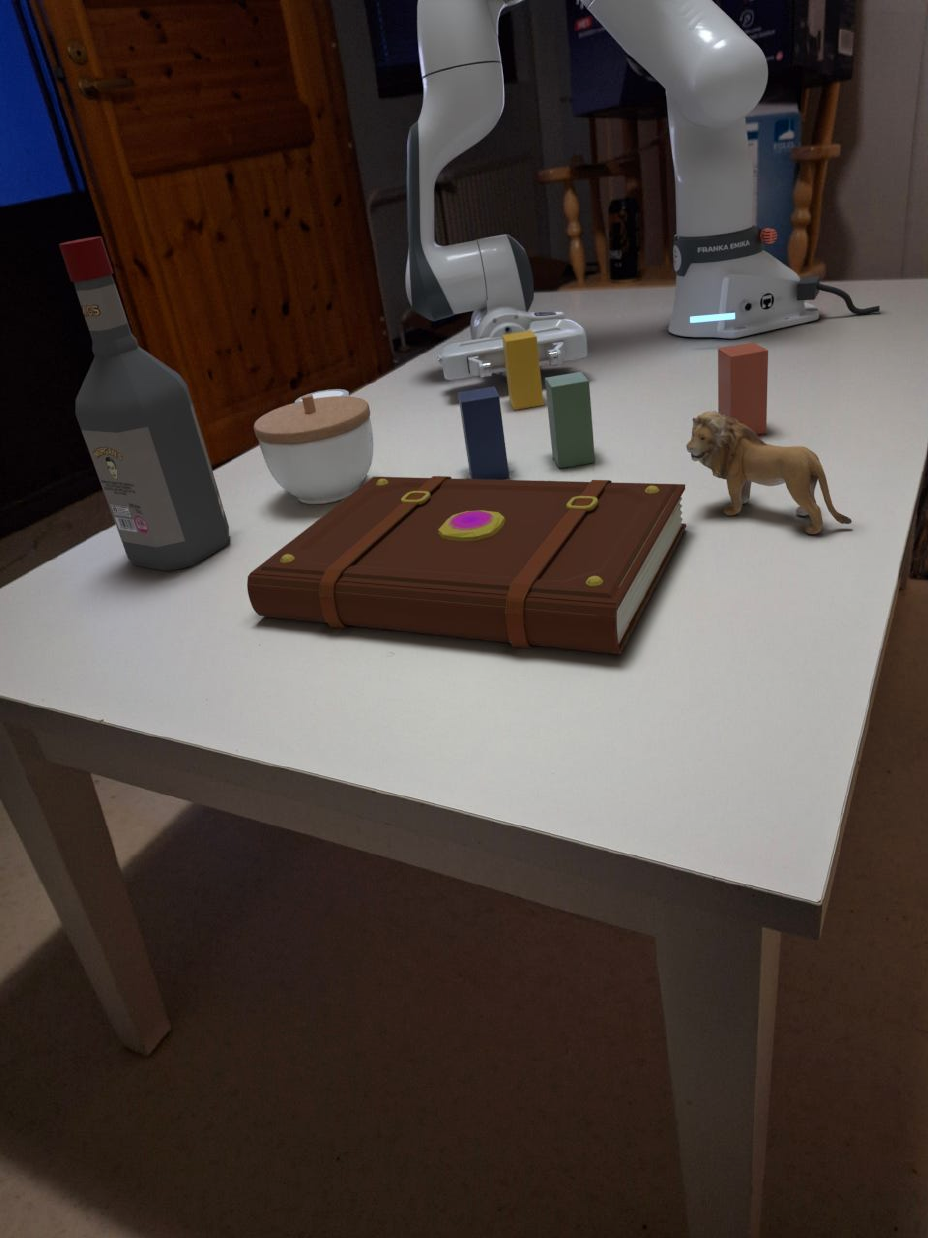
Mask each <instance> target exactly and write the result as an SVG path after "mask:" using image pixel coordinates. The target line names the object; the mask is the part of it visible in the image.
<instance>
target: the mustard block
mask: <svg viewBox="0 0 928 1238" xmlns="http://www.w3.org/2000/svg"><path fill="white" fill-rule="evenodd" d="M502 341H503V349H504V358H505V366H506V374H507V376H506V381H507V383H506V384H507V390H508V398H509V403H510V405H511V407H512V409H513V410H514V411H517V410H524V409H529V408H530V409H531V408H536V407H541V406H545V405H544V393H543V384H542V374H541V365H540V364H539V354H538V344H537V336H536V335H535V334H534V333H533V331H532V330H530V331H524V332H518V333H512V334H506V335H502Z"/></svg>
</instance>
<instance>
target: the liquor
mask: <svg viewBox="0 0 928 1238" xmlns="http://www.w3.org/2000/svg"><path fill="white" fill-rule="evenodd" d="M58 246H59V249H60V252H61V256H62V258H63V261H64V265H65V268H66V270H67V274H68V278H69V280H70V282H72V283H73V285H74V289H75V291H76V294H77V297H78V301H79V304H80V307H81V310H82V313H83V317H84V319H85V322H86V325H87V329H88V332H89V335H90V338H91V341H92V343H91V344H92V346H91V350H92V351H91V352H92V353H93V357H94V358H93V360H92V362H91V364H90V367H89V369H88V371H87V374H86V376H85V378H84V380H83V382H82V384H81V387H80V389H79V391H78V394H77V396H76V398H75V409H74V410H75V416H76V419H77V422H78V425H79V427H80V431H81V433H82V435H83V438H84V440H85V444H86V447H87V450H88V453H89V455H90V458H91V460H92V463H93V466H94V468H95V472H96V474H97V478H98V481H99V482H100V485H101V488H102V491H103V494H104V496H105V499H106V502H107V505H108V507H109V510H110V513H111V516H112V519H113V521H114V524H115V526H116V530H117V532H118V535H119V538H120V540H121V543H122V547H123V549H124V551H125V554H126V558H127V559H128V561H130V562H131V563H132V564H133V565H135V566H137V567H142V568H148V569H152V570H158V571H163V572H171V571H176V570H179V569H184V568H188V567H189V568H190V567H194V566H195V565H196V564H198V563H200V562H201V561H203V560H205V559H207V558H208V557H210V556H211V555H213V554H215V553H216V552H218V551H220V550H221V549H224V548H225V547H227V545H228V542H229V538H230V525H229V521H228V519H227V518H228V517H227V515H226V511H225V508H224V505H223V501H222V498H221V495H220V492H219V487H218V485H217V482H216V479H215V478H216V477H215V475H214V472H213V471H214V470H213V468H212V464H211V462H210V461H211V460H210V458H209V454H208V450H207V448H206V443H205V441H204V437H203V434H202V431H201V427H200V424H199V421H198V417H197V413H196V410H195V407H194V403H193V399H192V397H191V393H190V390H189V387H188V384H187V383H186V382H185V379H183V378H182V376H181V375H180V373H179V372H176V370H174V369H172V368H171V367H170V366H169V365H166V364H165V363H164V362H162V361H161V360H159V359H158V358H157V357H155V356H153V354H150V353H149V352H148V351H146V350H144V349H143V348H141V347H140V346H139V344H138V343H139V342H138V339H137V338H136V337H135V335H134V334H133V333H132V330H131V328H130V325H129V322H128V319H127V316H126V313H125V309H124V307H123V304H122V301H121V298H120V294H119V292H118V287H117V285H116V283H115V279H114V277H113V274H114V270H113V267H112V263H111V261H110V258H109V255H108V251H107V249H106V246H105V242H104V239H103V236H93V237H86V238H85V237H84V238H79V239H75V240H70V241H65V242H61V243H59V244H58Z"/></svg>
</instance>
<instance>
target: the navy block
mask: <svg viewBox="0 0 928 1238" xmlns="http://www.w3.org/2000/svg"><path fill="white" fill-rule="evenodd" d="M457 396H458V397H457V398H458V403H459V410H460V416H461V423H462V430H463V431H462V432H463V437H464V444H465V451H466V457H467V458H466V459H467V464H468V470H469V474H470V479H491V480H502V479H505V478H510V472H509V464H508V455H507V448H506V441H505V440H506V439H505V433H504V423H503V416H502V407H501V400H500V394H499V393H498V391H497V388H496V387H495V386H488V387H482V388H475V389H469V390H464V391H458V392H457Z"/></svg>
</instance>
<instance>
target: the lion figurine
mask: <svg viewBox="0 0 928 1238" xmlns="http://www.w3.org/2000/svg"><path fill="white" fill-rule="evenodd" d="M691 420H692V427H691V439H690V440H689V441H688V442H687V443H686V445H685V446H686V447H685V448H686V451H687V452H688V453H690V457H691V460H692V461H693V462H699V463H700V464H701V465H702V466H704V467H706V468H708V469H709V470H711V472H712V476H713V477H715V478H718V479H723V480H726V485H727V492H728V495H729V498H730V501H731V505H728V506H726V507H725V508H724V510H723V512H724V514H725V515H726V516H735V515H737V514H739V513H740V512H741V510H742V508H743V505H745V504H747V503H749V501H750V498H751V488H752V483H754V484H757V485H761V486H765V487H775V486H780V485H783V484H785V487H786V489H787V491H788V493H789V495H790V496H791V498H792V500H793V501H794V502H795V503H796V504H797V505H798V507H797V508H796V509H795V514H796V515H798V516H809V517H810V519H811V521H812V522H811V523H810V522H809V523H807V524H806V525H805V533H806V534H808V535H816V534H818V533H820V532H821V531H822V529H823V526H824V522H823V515H822V509H821V507H820V506H819V505H818V504H817V501H816V497H815V490H816V486H817V484H819V487H820V491H821V493H822V497H823V500H824V501H823V502H824V503H825V505H826V508H827V510H828V512H829V513H830V515H831V516H832V517H833V518H834V520H835V521H836V522H838V523H839V524H842V525H843V524H844V525H850V524H852V523H853V521H852V519H851V518H850V517H848V516H846V515H844V514H842V513H840V512H839V511H838V510H836V508H835V507H834V505H833V501H832V497H831V494H830V490H829V484H828V480H827V476H826V473H825V470H824V468H823V466H822V464H821V462H820V458H819V457H818V455H817V454H816V452H814V451H813V450H811V449H809V448H808V447H805V446H803V445H795V446H784V445H783V446H781V445H773V444H769V443H766V442H765V441H763V440H762V439H761V438H760V437H759V436H758V435H757V434H756V433H755V432H754V431H753V430H752V429H750V428H749V427H747V426H746V425H745V424H741V423H739V422H738V420H737V419H735V418H733V417H730V416H728V415H724V413H718V411H714V410H713V411H712V410H711V411H705V412H703V413H702V414H698V415H697V416H696V417H692V419H691Z"/></svg>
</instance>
